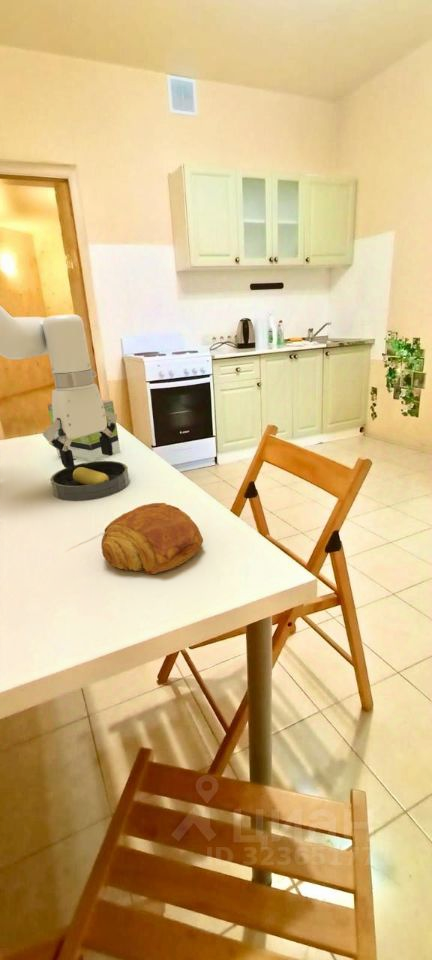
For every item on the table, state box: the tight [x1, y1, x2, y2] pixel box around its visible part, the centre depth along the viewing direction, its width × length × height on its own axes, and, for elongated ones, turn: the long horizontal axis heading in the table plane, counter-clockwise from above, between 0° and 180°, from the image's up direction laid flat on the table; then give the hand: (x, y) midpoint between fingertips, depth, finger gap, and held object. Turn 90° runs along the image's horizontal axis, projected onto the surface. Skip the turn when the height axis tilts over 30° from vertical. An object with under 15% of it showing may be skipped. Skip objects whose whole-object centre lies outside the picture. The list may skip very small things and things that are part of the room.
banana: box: [73, 467, 109, 485], centre depth 97 cm, size 11×4×4 cm, turn 50°
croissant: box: [101, 502, 204, 576], centre depth 68 cm, size 14×16×8 cm
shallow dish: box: [49, 460, 131, 502], centre depth 97 cm, size 16×16×4 cm
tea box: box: [47, 399, 121, 463], centre depth 119 cm, size 15×10×15 cm, turn 55°
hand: (89, 461), depth 96 cm, fingers open, 9 cm apart
